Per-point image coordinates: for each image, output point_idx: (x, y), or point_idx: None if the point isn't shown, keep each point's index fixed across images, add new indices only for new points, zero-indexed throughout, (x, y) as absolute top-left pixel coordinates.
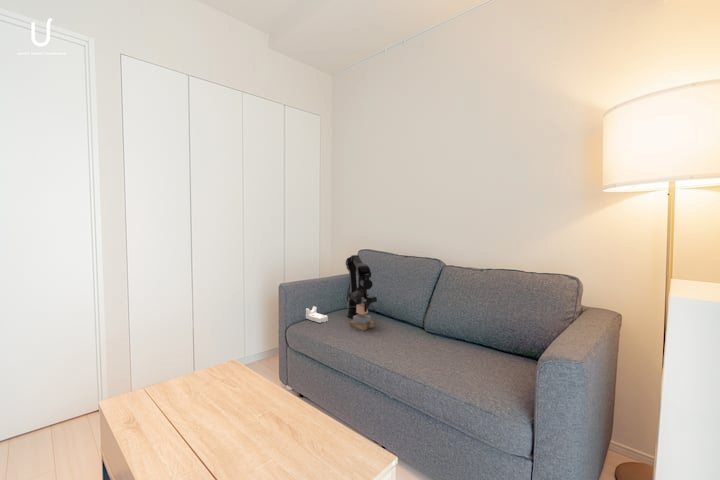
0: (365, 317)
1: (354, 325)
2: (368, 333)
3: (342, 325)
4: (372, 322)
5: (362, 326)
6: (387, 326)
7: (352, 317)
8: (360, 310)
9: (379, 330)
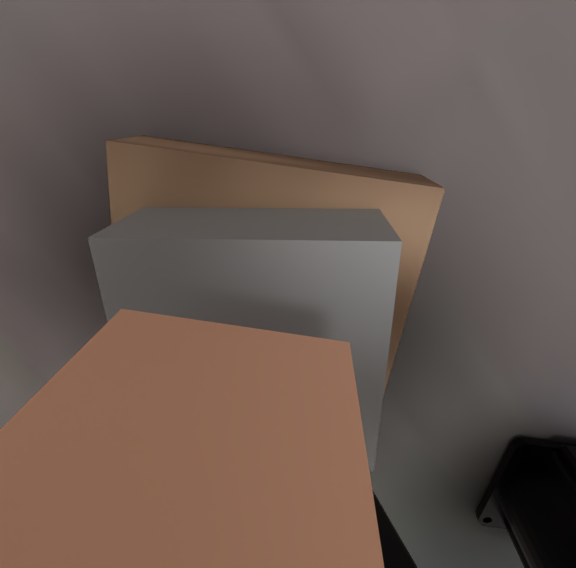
0: None
1: (317, 165)
2: (7, 89)
3: (547, 135)
4: None
5: (122, 140)
6: None
7: (542, 450)
8: (159, 382)
9: (10, 281)
